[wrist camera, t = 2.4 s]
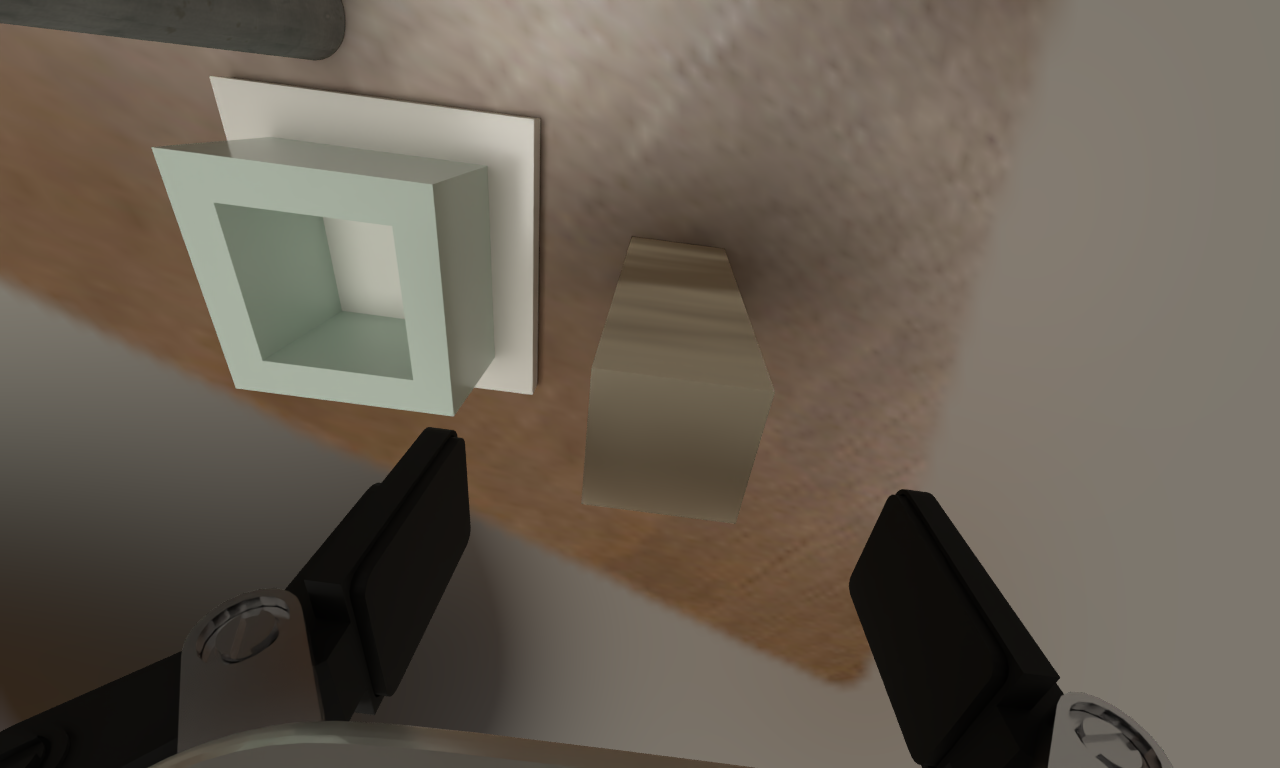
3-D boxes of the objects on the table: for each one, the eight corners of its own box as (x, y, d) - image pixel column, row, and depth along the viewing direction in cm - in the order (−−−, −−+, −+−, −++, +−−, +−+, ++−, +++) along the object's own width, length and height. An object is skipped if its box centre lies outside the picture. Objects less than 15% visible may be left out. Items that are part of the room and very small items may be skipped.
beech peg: (631, 236, 21) (591, 367, 11) (724, 248, 21) (775, 391, 11) (622, 322, 23) (581, 503, 13) (707, 333, 23) (735, 523, 13)
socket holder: (230, 77, 19) (61, 67, 14) (540, 118, 19) (490, 124, 14) (302, 354, 25) (204, 420, 20) (537, 384, 25) (501, 458, 20)
